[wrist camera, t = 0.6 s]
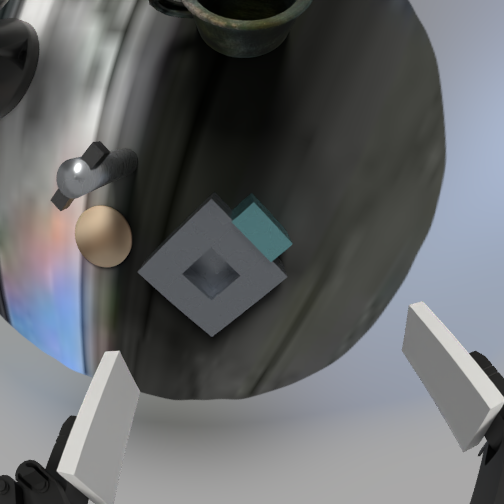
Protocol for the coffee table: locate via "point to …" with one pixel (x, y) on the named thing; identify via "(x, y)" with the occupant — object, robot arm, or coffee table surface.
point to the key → (91, 172)
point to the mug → (238, 22)
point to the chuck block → (219, 261)
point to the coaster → (103, 236)
